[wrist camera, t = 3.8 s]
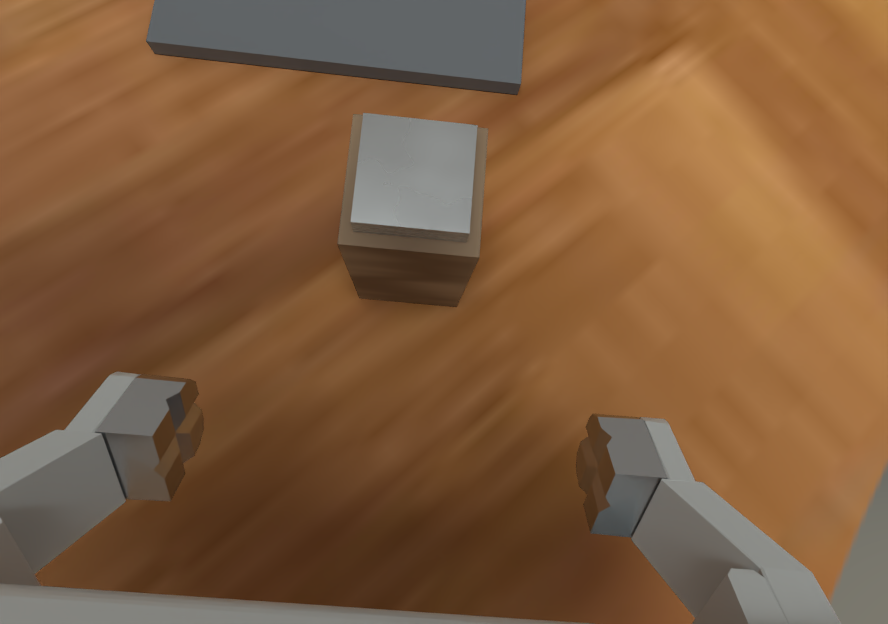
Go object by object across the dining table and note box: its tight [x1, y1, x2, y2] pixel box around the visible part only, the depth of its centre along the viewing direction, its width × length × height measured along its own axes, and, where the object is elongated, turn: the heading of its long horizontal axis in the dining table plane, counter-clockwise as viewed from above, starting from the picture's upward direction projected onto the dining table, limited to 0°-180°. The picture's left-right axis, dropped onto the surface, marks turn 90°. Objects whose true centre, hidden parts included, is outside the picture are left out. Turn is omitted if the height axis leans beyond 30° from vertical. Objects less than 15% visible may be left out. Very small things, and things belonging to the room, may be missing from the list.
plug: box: [338, 113, 488, 307], centre depth 19 cm, size 4×4×8 cm
